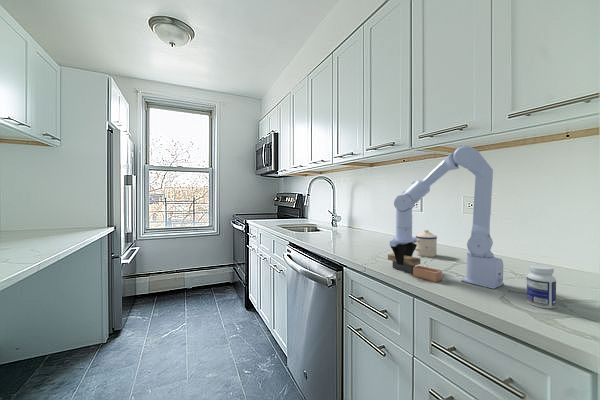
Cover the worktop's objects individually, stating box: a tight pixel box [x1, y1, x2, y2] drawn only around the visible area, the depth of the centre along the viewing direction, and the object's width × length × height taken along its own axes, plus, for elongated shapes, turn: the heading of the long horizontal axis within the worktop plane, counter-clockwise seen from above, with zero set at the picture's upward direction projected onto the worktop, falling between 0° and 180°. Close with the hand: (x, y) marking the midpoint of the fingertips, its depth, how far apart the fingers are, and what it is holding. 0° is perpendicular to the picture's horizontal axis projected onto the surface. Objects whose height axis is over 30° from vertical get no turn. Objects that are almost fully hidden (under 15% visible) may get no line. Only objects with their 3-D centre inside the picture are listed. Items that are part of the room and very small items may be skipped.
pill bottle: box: [526, 264, 557, 310], centre depth 71 cm, size 6×6×10 cm
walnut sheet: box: [387, 252, 421, 267], centre depth 104 cm, size 11×4×2 cm, turn 36°
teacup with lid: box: [413, 229, 438, 258], centre depth 128 cm, size 12×9×12 cm
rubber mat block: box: [392, 261, 416, 274], centre depth 104 cm, size 8×2×3 cm, turn 36°
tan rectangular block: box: [412, 265, 443, 284], centre depth 93 cm, size 8×4×3 cm, turn 36°
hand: (403, 263), depth 104 cm, fingers closed on walnut sheet, 4 cm apart
